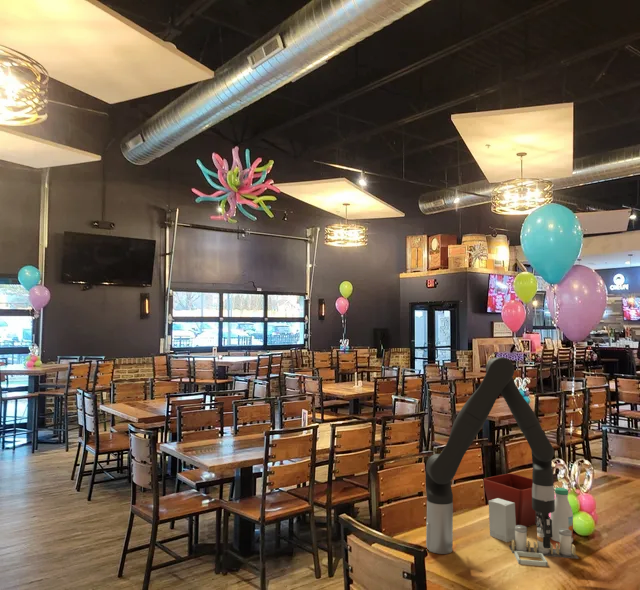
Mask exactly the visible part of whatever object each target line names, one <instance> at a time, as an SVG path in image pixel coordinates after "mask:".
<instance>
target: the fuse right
mask: <svg viewBox="0 0 640 590" xmlns="http://www.w3.org/2000/svg"><path fill="white" fill-rule="evenodd" d="M559 534H560V542H559V553H560V554H561V555H564V556H571V555H572V542H571V535H572V531H571V530H569V529H564V528H561V529H559Z"/></svg>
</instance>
